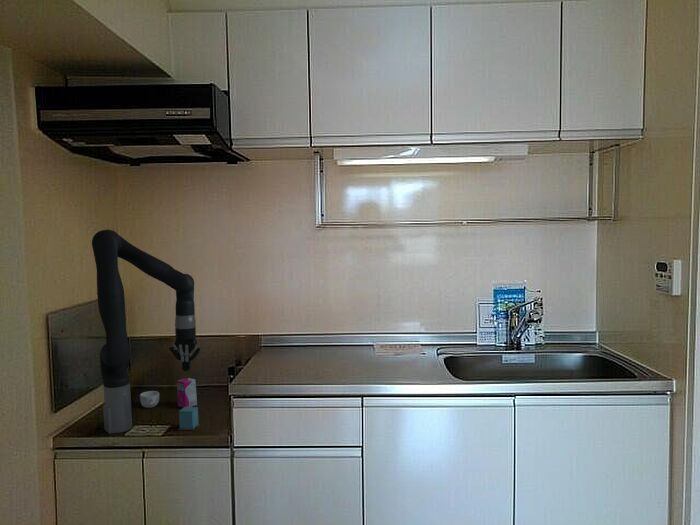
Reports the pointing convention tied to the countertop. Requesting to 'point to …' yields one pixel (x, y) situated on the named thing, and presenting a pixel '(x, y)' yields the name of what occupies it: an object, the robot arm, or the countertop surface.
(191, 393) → the supplement box
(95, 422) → the countertop surface
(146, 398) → the teacup
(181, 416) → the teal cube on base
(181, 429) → the dark stepped block
